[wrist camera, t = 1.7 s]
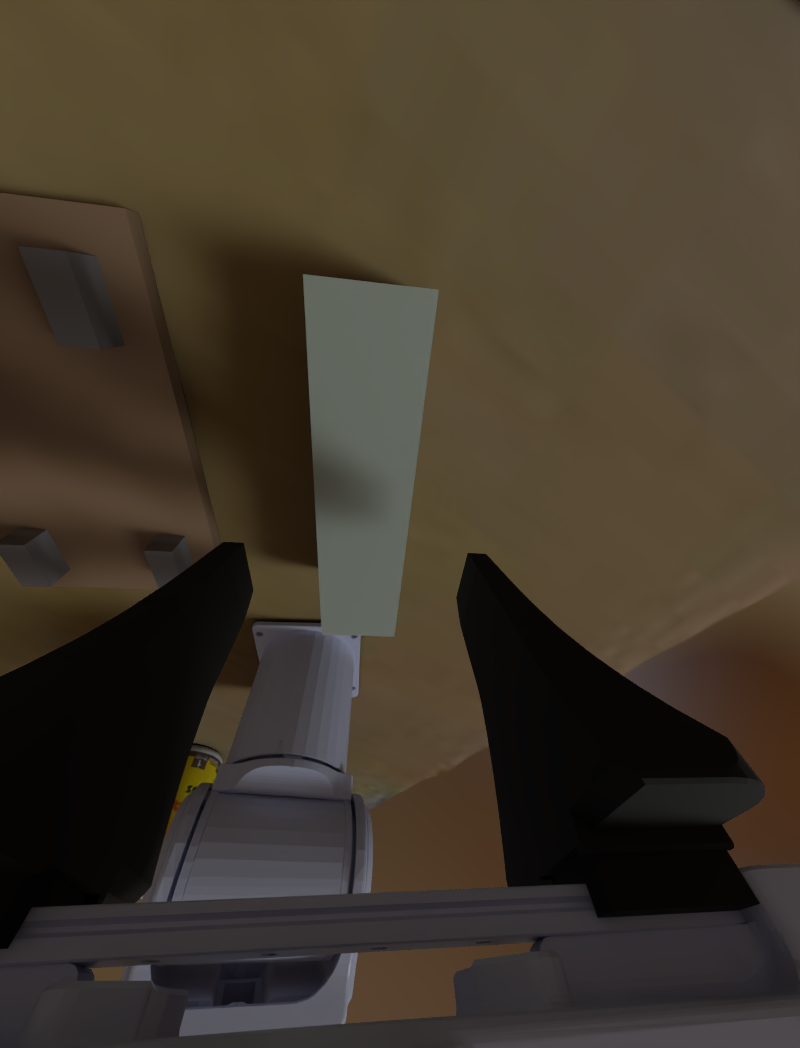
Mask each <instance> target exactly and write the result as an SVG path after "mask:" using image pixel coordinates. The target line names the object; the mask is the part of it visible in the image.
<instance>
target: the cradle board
mask: <svg viewBox="0 0 800 1048" xmlns="http://www.w3.org/2000/svg"><path fill="white" fill-rule="evenodd" d="M220 544H221V542H220V538H219V534H218V530H217V526H216V522H215V518H214V514H213V510H212V506H211V502H210V498H209V494H208V490H207V486H206V482H205V478H204V474H203V470H202V466H201V462H200V458H199V454H198V450H197V446H196V442H195V438H194V434H193V430H192V426H191V422H190V418H189V414H188V410H187V406H186V402H185V398H184V394H183V390H182V386H181V382H180V378H179V374H178V370H177V366H176V362H175V358H174V354H173V350H172V346H171V342H170V338H169V334H168V330H167V326H166V322H165V318H164V314H163V310H162V305H161V301H160V297H159V293H158V289H157V285H156V281H155V277H154V273H153V269H152V265H151V261H150V257H149V253H148V249H147V245H146V241H145V237H144V233H143V229H142V225H141V221H140V217H139V213H137V212H134V211H131V210H128V209H126V208H119V207H111V206H103V205H95V204H87V203H79V202H71V201H63V200H55V199H47V198H39V197H31V196H23V195H15V194H7V193H0V555H1V557H2V558H3V560H4V561H5V562H6V564H7V565H8V567H9V568H10V569H11V571H12V572H13V574H14V575H15V576H16V578H17V579H18V581H19V582H20V583H21V585H22V586H44V587H51V586H56V587H86V588H117V589H147V590H158V589H159V588H161V587H162V586H164V585H165V584H166V583H168V582H169V581H171V580H172V579H173V578H175V577H176V576H178V575H179V574H180V573H182V572H183V571H184V570H186V569H187V568H189V567H190V566H191V565H193V564H194V563H195V562H197V561H198V560H199V559H201V558H202V557H203V556H205V555H206V554H207V553H209V552H210V551H212V550H213V549H214V548H216V547H217V546H218V545H220Z"/></svg>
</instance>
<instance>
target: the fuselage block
mask: <svg viewBox="0 0 800 1048" xmlns="http://www.w3.org/2000/svg"><path fill="white" fill-rule="evenodd" d="M303 284H304V303H305V323H306V342H307V361H308V380H309V399H310V418H311V437H312V456H313V475H314V494H315V513H316V532H317V551H318V571H319V590H320V609H321V628H322V635H354V636H394V635H395V628H396V620H397V612H398V604H399V596H400V589H401V581H402V573H403V565H404V557H405V549H406V542H407V534H408V526H409V518H410V510H411V502H412V495H413V487H414V479H415V471H416V463H417V456H418V448H419V440H420V432H421V424H422V416H423V409H424V401H425V393H426V385H427V377H428V369H429V362H430V354H431V346H432V338H433V330H434V323H435V315H436V307H437V299H438V291H439V290H436V289H427V288H419V287H410V286H401V285H393V284H384V283H375V282H367V281H358V280H350V279H341V278H332V277H324V276H315V275H306V274H303Z"/></svg>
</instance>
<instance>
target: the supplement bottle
mask: <svg viewBox="0 0 800 1048" xmlns="http://www.w3.org/2000/svg"><path fill="white" fill-rule="evenodd" d="M220 764H222V758H221V756H220V754H219V753H218V752H216V751H215V750H213V749H210V748H208V747H204V746H198V745H192V748H191V751H190V754H189V757H188V760H187V763H186V766H185V769H184V772H183V775H182V779H181V782H180V785H179V789H178V792H177V795H176V799H175V802H174V805H173V809H172V812H171V815H170V819H169V822H168V826H167V830H166V833H165V837H166V834H167V832H168V830H169V827H170V825H171V823H172V821H173V819H174V817H175V815H176V813H177V811H178V809H179V807H180V805H181V803H182V802H183V800H184V799H185V797H186V796H187V795H189V794H190V793H191V792H192V791H194V790H195V789H196V788H197V787H198V786H199V785H200V784H201V783H213V784H214V781H215V778H216V775H217V772H218V769H219V767H220ZM165 837H164V839H165ZM141 898H143V896H142V897H141Z"/></svg>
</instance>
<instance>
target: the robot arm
mask: <svg viewBox="0 0 800 1048" xmlns="http://www.w3.org/2000/svg"><path fill="white" fill-rule="evenodd" d="M252 593H253V586H252V581H251V576H250V571H249V566H248V562H247V557H246V552H245V547H244V543H235V542H223V543H221V544H220V545H218V546H217V547H216V548H214V549H213V550H212V551H210V552H209V553H207V554H206V555H205V556H203V557H202V558H201V559H199V560H198V561H197V562H195V563H194V564H193V565H191V566H190V567H189V568H187V569H186V570H184V571H183V572H182V573H180V574H179V575H178V576H176V577H175V578H173V579H172V580H171V581H169V582H168V583H166V584H165V585H164V586H162V587H161V588H159V589H158V590H156V591H155V592H153V593H152V594H150V595H149V596H147V597H146V598H144V599H143V600H141V601H140V602H138V603H137V604H135V605H134V606H132V607H131V608H129V609H127V610H126V611H124V612H123V613H121V614H119V615H118V616H116V617H114V618H113V619H111V620H109V621H108V622H106V623H104V624H102V625H101V626H99V627H97V628H95V629H94V630H92V631H90V632H88V633H87V634H85V635H83V636H81V637H79V638H77V639H75V640H74V641H72V642H70V643H68V644H66V645H64V646H62V647H60V648H58V649H56V650H54V651H52V652H50V653H48V654H46V655H44V656H42V657H40V658H38V659H36V660H34V661H32V662H30V663H28V664H26V665H24V666H22V667H20V668H18V669H16V670H14V671H11V672H9V673H7V674H5V675H3V676H1V677H0V1048H800V863H798V864H797V863H796V864H771V865H755V866H748V867H742V868H739V869H738V867H737V866H736V864H735V863H734V861H733V859H732V858H731V856H730V855H729V853H728V851H727V850H731V849H733V848H734V844H733V841H732V840H731V838H730V837H729V835H728V834H727V832H726V831H725V829H724V828H723V826H722V824H724V823H725V822H727V821H729V820H731V819H732V818H735V817H736V816H738V815H740V814H742V813H743V812H745V811H747V810H749V809H750V808H752V807H753V806H755V805H757V804H758V803H759V802H760V801H761V800H762V799H763V798H764V795H765V785H764V784H763V782H762V781H761V780H760V779H759V777H758V776H757V775H756V774H755V772H754V771H753V770H752V768H751V767H750V766H749V765H748V763H747V762H746V761H745V760H744V759H743V757H742V756H741V755H740V753H739V752H738V751H737V750H736V748H735V747H734V746H733V744H732V743H731V742H730V741H729V740H728V738H727V737H725V736H723V735H721V734H720V733H718V732H716V731H714V730H713V729H711V728H709V727H707V726H705V725H704V724H702V723H700V722H698V721H696V720H695V719H693V718H691V717H689V716H687V715H686V714H684V713H682V712H680V711H678V710H677V709H675V708H673V707H671V706H670V705H668V704H666V703H665V702H663V701H662V700H660V699H658V698H657V697H655V696H653V695H652V694H650V693H649V692H647V691H645V690H644V689H642V688H640V687H639V686H637V685H636V684H634V683H633V682H631V681H630V680H628V679H627V678H625V677H624V676H622V675H621V674H619V673H618V672H617V671H615V670H614V669H612V668H611V667H609V666H608V665H607V664H605V663H604V662H602V661H601V660H600V659H598V658H597V657H595V656H594V655H593V654H591V653H590V652H589V651H587V650H586V649H585V648H583V647H582V646H581V645H580V644H579V643H577V642H576V641H575V640H574V639H572V638H571V637H570V636H569V635H567V634H566V633H565V632H564V631H562V630H561V629H560V628H559V627H558V626H557V625H556V624H554V623H553V622H552V621H551V620H550V619H549V618H548V617H547V616H546V615H545V614H543V613H542V612H541V611H540V610H539V609H538V608H537V607H536V606H535V605H534V604H533V603H532V602H531V601H530V600H529V599H528V598H527V597H526V596H525V595H524V594H523V593H522V592H521V591H520V590H519V589H518V588H517V587H516V586H515V585H514V584H513V583H512V582H511V581H510V579H509V578H508V577H507V576H506V575H505V574H504V573H503V572H502V571H501V570H500V569H499V568H498V566H497V565H496V564H495V563H494V562H493V561H492V560H491V559H490V558H489V557H488V556H487V555H486V554H476V553H468V554H467V558H466V562H465V566H464V570H463V574H462V578H461V582H460V586H459V589H458V593H457V605H458V612H459V619H460V625H461V629H462V633H463V636H464V640H465V644H466V647H467V651H468V654H469V658H470V661H471V665H472V668H473V672H474V676H475V679H476V683H477V686H478V690H479V694H480V699H481V703H482V708H483V714H484V719H485V725H486V731H487V736H488V743H489V749H490V755H491V761H492V767H493V774H494V782H495V788H496V795H497V803H498V810H499V818H500V827H501V835H502V843H503V852H504V860H505V871H506V880H507V885H508V887H497V888H474V889H450V890H429V891H428V890H427V891H404V892H380V893H370V891H371V881H372V880H371V879H372V864H373V862H372V861H373V838H372V825H371V818H370V814H369V811H368V809H367V807H366V805H365V804H364V801H363V798H362V797H361V796H360V795H359V794H352V780H353V775H351V774H346V763H347V750H348V738H349V725H350V712H351V699H352V697H356V696H357V695H358V686H359V661H360V637H361V636H354V635H322V628H321V623H296V622H255V623H254V624H253V627H252V632H253V636H254V640H255V645H256V649H257V654H258V658H259V663H260V664H259V667H258V670H257V673H256V676H255V679H254V682H253V685H252V688H251V691H250V694H249V697H248V699H247V702H246V705H245V708H244V711H243V714H242V717H241V720H240V723H239V726H238V729H237V732H236V735H235V738H234V741H233V744H232V747H231V750H230V752H229V755H228V758H227V761H226V763H222V764H220V767H219V769H218V772H217V775H216V778H215V781H214V784H213V783H201V784H200V785H199V786H198V787H197V788H196V789H195V790H194V791H192V792H191V793H190V794H189V795H187V796H186V797H185V799H184V800H183V802H182V803H181V805H180V807H179V809H178V811H177V813H176V815H175V817H174V819H173V821H172V823H171V825H170V827H169V830H168V832H167V834H166V837H165V833H166V830H167V826H168V822H169V819H170V815H171V812H172V809H173V805H174V802H175V799H176V795H177V792H178V789H179V785H180V782H181V779H182V775H183V772H184V769H185V766H186V763H187V760H188V757H189V754H190V751H191V748H192V744H193V741H194V738H195V735H196V732H197V730H198V727H199V724H200V721H201V718H202V715H203V712H204V710H205V707H206V704H207V701H208V699H209V696H210V694H211V691H212V689H213V687H214V684H215V682H216V680H217V678H218V676H219V674H220V672H221V669H222V667H223V665H224V663H225V661H226V659H227V656H228V654H229V652H230V650H231V648H232V646H233V644H234V641H235V639H236V637H237V635H238V633H239V630H240V628H241V626H242V624H243V621H244V619H245V616H246V613H247V610H248V607H249V604H250V600H251V597H252ZM164 837H165V839H164ZM142 896H143V898H142V901H141V903H135V902H137V901H138V900H139V899H140V898H141V897H142ZM535 942H536V943H535ZM518 943H534V944H533V945H532V947H531V949H530V952H527V953H520V954H513V955H506V956H498V957H491V958H484V959H477V960H474V962H473V964H472V966H471V967H470V968H467V969H464V970H461V971H457V972H456V973H455V975H454V978H453V979H454V988H455V998H456V1007H457V1013H456V1016H446V1017H432V1018H418V1019H404V1020H390V1021H375V1022H361V1023H347V1024H344V1023H345V1021H346V1015H347V1005H348V1003H349V1001H350V1000H351V997H352V992H353V984H354V976H355V969H356V962H357V955H358V953H362V952H380V951H396V950H412V949H413V950H414V949H431V948H448V947H465V946H482V945H499V944H518ZM120 966H125V967H124V970H123V973H122V977H121V979H120V981H94V974H93V972H92V970H91V969H89V968H102V967H120Z"/></svg>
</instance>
